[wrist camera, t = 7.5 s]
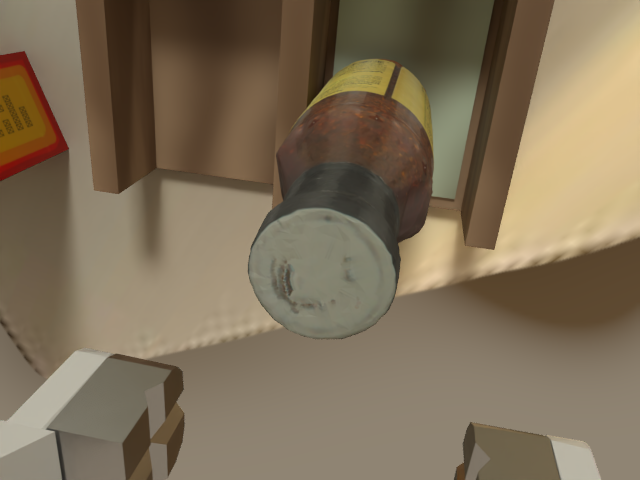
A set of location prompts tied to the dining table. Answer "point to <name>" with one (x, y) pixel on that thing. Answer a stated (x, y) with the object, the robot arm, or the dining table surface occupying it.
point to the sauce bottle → (346, 202)
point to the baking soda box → (24, 118)
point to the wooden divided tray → (305, 85)
